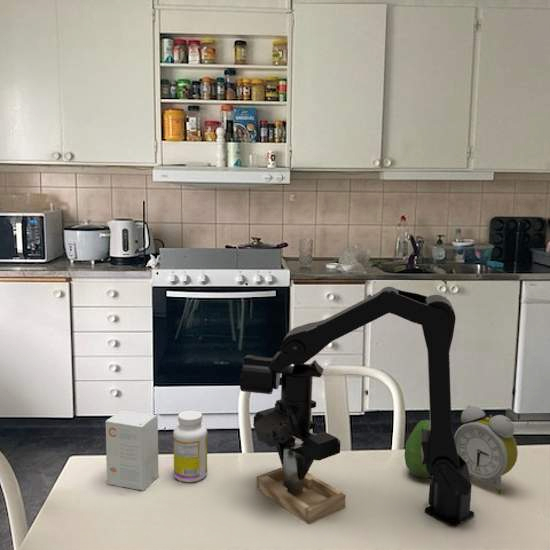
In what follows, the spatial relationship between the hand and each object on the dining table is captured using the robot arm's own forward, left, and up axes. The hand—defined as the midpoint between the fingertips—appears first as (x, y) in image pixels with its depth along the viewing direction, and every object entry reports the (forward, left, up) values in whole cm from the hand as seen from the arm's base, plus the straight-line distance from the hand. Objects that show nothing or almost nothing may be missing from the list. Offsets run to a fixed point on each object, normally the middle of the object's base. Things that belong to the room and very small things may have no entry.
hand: (293, 474), depth 115 cm
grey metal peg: (0, 0, -3) cm, 2 cm away
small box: (+23, +22, -4) cm, 32 cm away
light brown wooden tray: (-2, 0, -4) cm, 4 cm away
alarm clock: (-19, -34, -4) cm, 39 cm away
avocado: (-10, -26, -4) cm, 28 cm away
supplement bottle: (+18, +12, -4) cm, 22 cm away
